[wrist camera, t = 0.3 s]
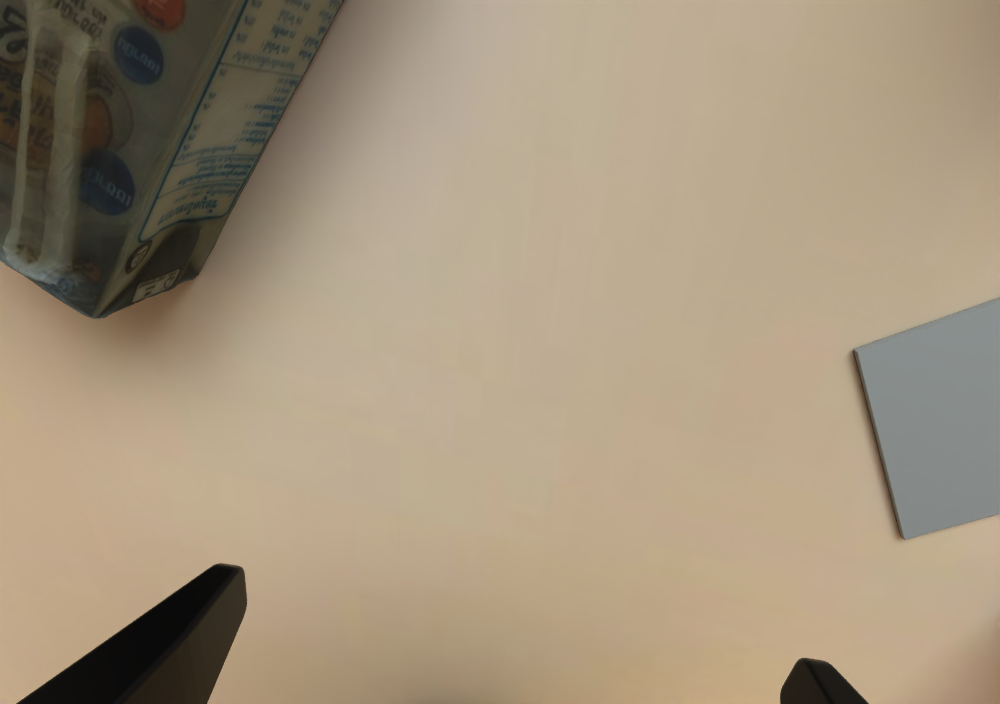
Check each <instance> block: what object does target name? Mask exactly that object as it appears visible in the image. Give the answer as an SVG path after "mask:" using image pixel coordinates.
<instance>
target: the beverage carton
mask: <svg viewBox="0 0 1000 704" xmlns="http://www.w3.org/2000/svg"><path fill="white" fill-rule="evenodd" d="M342 1H343V0H0V261H1V262H3V263H4V264H6V265H7V266H9V267H10V268H12V269H14V270H15V271H17V272H19V273H20V274H22V275H24V276H25V277H27V278H28V279H30V280H31V281H33V282H34V283H35V284H37V285H38V286H39V287H41V288H42V289H44V290H45V291H46V292H48V293H49V294H51V295H52V296H54V297H55V298H57V299H59V300H60V301H62V302H63V303H65V304H67V305H68V306H70V307H72V308H73V309H75V310H76V311H78V312H80V313H81V314H83V315H85V316H88V317H90V318H93V319H99V318H105V317H107V316H108V315H110V314H112V313H114V312H116V311H118V310H121V309H123V308H125V307H128V306H130V305H132V304H134V303H137V302H139V301H141V300H143V299H145V298H148V297H151V296H154V295H157V294H159V293H161V292H166V291H169V290H171V289H172V288H174V287H175V286H177V285H178V284H180V283H183V282H185V281H188V280H192V279H194V278H195V277H196V276H197V275H198V274H199V272H200V270H201V268H202V266H203V264H204V262H205V260H206V259H207V257H208V255H209V253H210V252H211V250H212V248H213V246H214V244H215V242H216V240H217V237H218V235H219V233H220V231H221V229H222V227H223V226H224V224H225V222H226V220H227V218H228V216H229V214H230V212H231V210H232V208H233V206H234V205H235V203H236V201H237V199H238V197H239V195H240V193H241V191H242V190H243V188H244V186H245V184H246V183H247V181H248V179H249V177H250V175H251V174H252V172H253V170H254V168H255V166H256V164H257V162H258V160H259V158H260V156H261V154H262V152H263V150H264V148H265V146H266V144H267V142H268V141H269V139H270V137H271V135H272V133H273V131H274V129H275V128H276V126H277V124H278V122H279V120H280V118H281V116H282V114H283V112H284V110H285V108H286V106H287V104H288V103H289V101H290V99H291V97H292V95H293V93H294V91H295V89H296V87H297V86H298V84H299V82H300V80H301V78H302V76H303V75H304V73H305V71H306V69H307V67H308V66H309V64H310V62H311V60H312V58H313V56H314V54H315V53H316V51H317V49H318V47H319V45H320V43H321V42H322V40H323V38H324V36H325V34H326V32H327V30H328V28H329V26H330V24H331V22H332V20H333V18H334V16H335V14H336V12H337V10H338V9H339V7H340V5H341V3H342Z"/></svg>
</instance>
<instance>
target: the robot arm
mask: <svg viewBox="0 0 1000 704" xmlns="http://www.w3.org/2000/svg"><path fill="white" fill-rule="evenodd" d="M246 607H247V594H246V583H245V573H244V570H243V568H242V567H240V566H236V565H230V564H223V563H219V564H215V565H213V566H212V567H210V568H209V569H207V570H206V571H204V572H203V573H202V574H200V575H199V576H197V577H196V578H194V579H193V580H192V581H190V582H189V583H187V584H186V585H184V586H183V587H182V588H180V589H179V590H177V591H176V592H174V593H173V594H172V595H170V596H169V597H167V598H166V599H165V600H163V601H162V602H160V603H159V604H157V605H156V606H155V607H153V608H152V609H150V610H149V611H147V612H146V613H145V614H143V615H142V616H140V617H139V618H137V619H136V620H135V621H133V622H132V623H130V624H129V625H128V626H126V627H125V628H123V629H122V630H120V631H119V632H118V633H116V634H115V635H113V636H112V637H110V638H109V639H108V640H106V641H105V642H103V643H102V644H100V645H99V646H98V647H96V648H95V649H93V650H92V651H91V652H89V653H88V654H86V655H85V656H83V657H82V658H81V659H79V660H78V661H76V662H75V663H73V664H72V665H71V666H69V667H68V668H66V669H65V670H63V671H62V672H61V673H59V674H58V675H56V676H55V677H54V678H52V679H51V680H49V681H48V682H46V683H45V684H44V685H42V686H41V687H39V688H38V689H36V690H35V691H34V692H32V693H31V694H29V695H28V696H26V697H25V698H24V699H22V700H21V701H19V702H18V703H17V704H207V702H208V700H209V698H210V695H211V693H212V691H213V688H214V686H215V684H216V681H217V679H218V676H219V674H220V672H221V669H222V667H223V665H224V662H225V660H226V658H227V655H228V653H229V650H230V648H231V646H232V643H233V641H234V639H235V636H236V634H237V632H238V629H239V627H240V624H241V622H242V620H243V617H244V614H245V611H246ZM780 703H781V704H869V703H868V702H867V701H866V700H865V699H864V698H863V697H862V696H861V695H860V694H859V693H858V692H857V691H856V690H855V689H854V688H853V687H852V686H851V685H850V684H849V683H848V681H847V680H846V679H845V678H844V677H843V676H842V675H841V674H840V673H839V672H838V671H837V670H836V669H835V668H834V667H833V666H832V665H831V664H829V663H827V662H825V661H822V660H816V659H810V658H801V659H799V660H798V661H797V662H796V664H795V665H794V667H793V669H792V671H791V672H790V674H789V676H788V678H787V679H786V681H785V683H784V685H783V686H782V689H781V693H780Z"/></svg>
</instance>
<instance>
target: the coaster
mask: <svg viewBox="0 0 1000 704" xmlns="http://www.w3.org/2000/svg"><path fill="white" fill-rule="evenodd" d="M854 353H855V357H856V361H857V365H858V369H859V373H860V377H861V380H862V384H863V388H864V392H865V396H866V400H867V404H868V408H869V412H870V416H871V420H872V424H873V428H874V432H875V436H876V440H877V444H878V448H879V452H880V455H881V459H882V463H883V467H884V471H885V475H886V479H887V483H888V487H889V491H890V495H891V499H892V503H893V507H894V511H895V515H896V519H897V523H898V527H899V531H900V534H901V536H902V537H903V538H904V540H906V539H910V538H913V537H917V536H920V535H924V534H928V533H931V532H935V531H939V530H942V529H946V528H950V527H953V526H957V525H961V524H964V523H968V522H971V521H975V520H979V519H982V518H986V517H990V516H993V515H997V514H1000V298H998V299H995V300H992V301H989V302H986V303H983V304H981V305H978V306H975V307H972V308H969V309H966V310H964V311H961V312H958V313H955V314H952V315H949V316H947V317H944V318H941V319H938V320H935V321H932V322H930V323H927V324H924V325H921V326H918V327H915V328H912V329H910V330H907V331H904V332H901V333H898V334H895V335H893V336H890V337H887V338H884V339H881V340H878V341H876V342H873V343H870V344H867V345H864V346H861V347H859V348H856V349H854Z"/></svg>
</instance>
